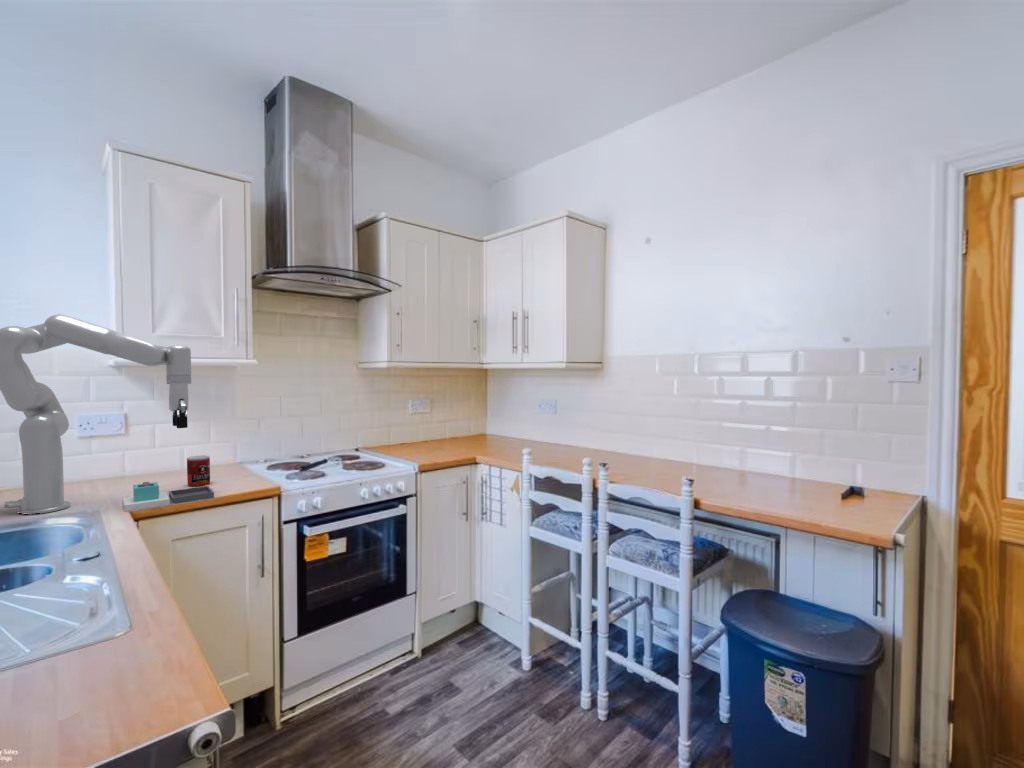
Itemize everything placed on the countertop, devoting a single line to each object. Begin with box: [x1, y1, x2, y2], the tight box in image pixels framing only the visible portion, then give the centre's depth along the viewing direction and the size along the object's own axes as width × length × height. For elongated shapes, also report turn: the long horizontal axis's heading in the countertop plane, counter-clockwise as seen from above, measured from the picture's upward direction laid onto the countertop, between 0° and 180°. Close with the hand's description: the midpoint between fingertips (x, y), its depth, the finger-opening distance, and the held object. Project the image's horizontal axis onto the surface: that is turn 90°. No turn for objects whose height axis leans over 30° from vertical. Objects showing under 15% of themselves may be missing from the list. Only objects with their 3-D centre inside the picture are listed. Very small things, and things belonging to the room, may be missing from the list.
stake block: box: [122, 481, 171, 512], centre depth 166 cm, size 12×12×8 cm
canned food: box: [186, 454, 211, 488], centre depth 194 cm, size 8×8×11 cm
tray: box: [168, 485, 215, 505], centre depth 175 cm, size 12×12×2 cm
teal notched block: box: [132, 481, 160, 502], centre depth 166 cm, size 7×7×4 cm
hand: (180, 426), depth 178 cm, fingers open, 9 cm apart
